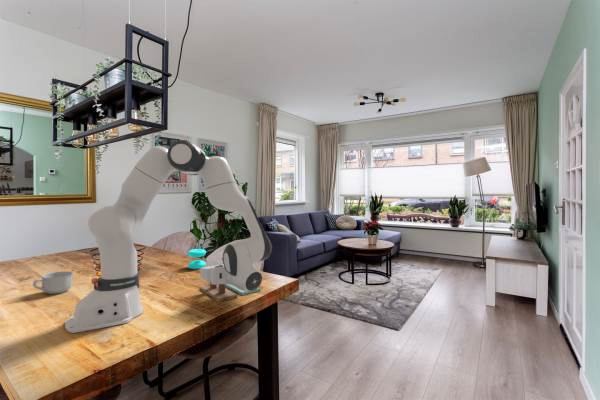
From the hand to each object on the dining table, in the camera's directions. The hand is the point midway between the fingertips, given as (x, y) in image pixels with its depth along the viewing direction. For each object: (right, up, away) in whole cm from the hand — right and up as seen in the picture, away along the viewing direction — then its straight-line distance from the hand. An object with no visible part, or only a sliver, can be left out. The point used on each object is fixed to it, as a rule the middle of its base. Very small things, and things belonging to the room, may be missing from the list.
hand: (218, 265), depth 126 cm
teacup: (-72, -13, +2) cm, 73 cm away
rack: (0, -12, +1) cm, 12 cm away
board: (+8, -12, +8) cm, 16 cm away
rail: (0, -2, +1) cm, 2 cm away
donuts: (-25, -11, +45) cm, 53 cm away
